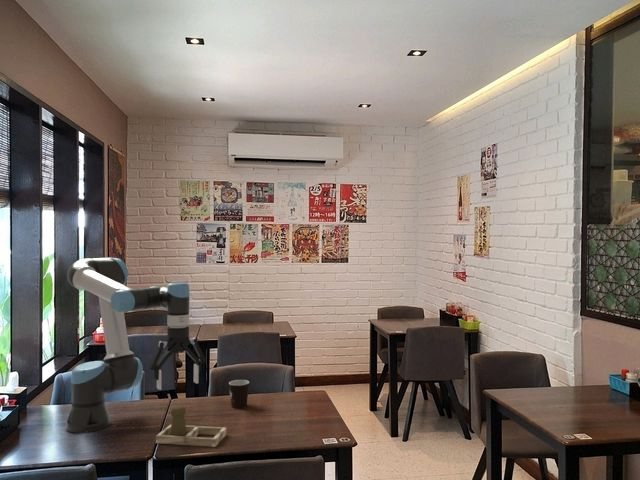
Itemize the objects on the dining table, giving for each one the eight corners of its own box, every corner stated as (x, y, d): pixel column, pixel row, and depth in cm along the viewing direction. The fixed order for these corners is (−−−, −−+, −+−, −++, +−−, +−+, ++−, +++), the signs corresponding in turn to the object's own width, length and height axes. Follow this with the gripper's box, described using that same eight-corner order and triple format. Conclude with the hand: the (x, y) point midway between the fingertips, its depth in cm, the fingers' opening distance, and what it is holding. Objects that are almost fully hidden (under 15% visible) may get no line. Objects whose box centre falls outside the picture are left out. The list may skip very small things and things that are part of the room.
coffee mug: (247, 409, 215) (247, 385, 215) (227, 409, 215) (227, 385, 215) (251, 400, 227) (251, 378, 227) (232, 400, 227) (232, 377, 227)
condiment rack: (215, 446, 176) (215, 439, 176) (155, 443, 180) (155, 435, 180) (226, 434, 187) (226, 427, 187) (170, 431, 191) (170, 424, 191)
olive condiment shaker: (177, 441, 180) (177, 410, 180) (165, 438, 183) (165, 407, 183) (190, 436, 185) (190, 405, 185) (178, 432, 188) (178, 402, 188)
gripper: (146, 331, 174) (146, 394, 174) (215, 324, 189) (214, 382, 189) (139, 328, 180) (139, 388, 180) (206, 321, 195) (206, 377, 195)
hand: (177, 385), depth 184 cm, fingers open, 13 cm apart
